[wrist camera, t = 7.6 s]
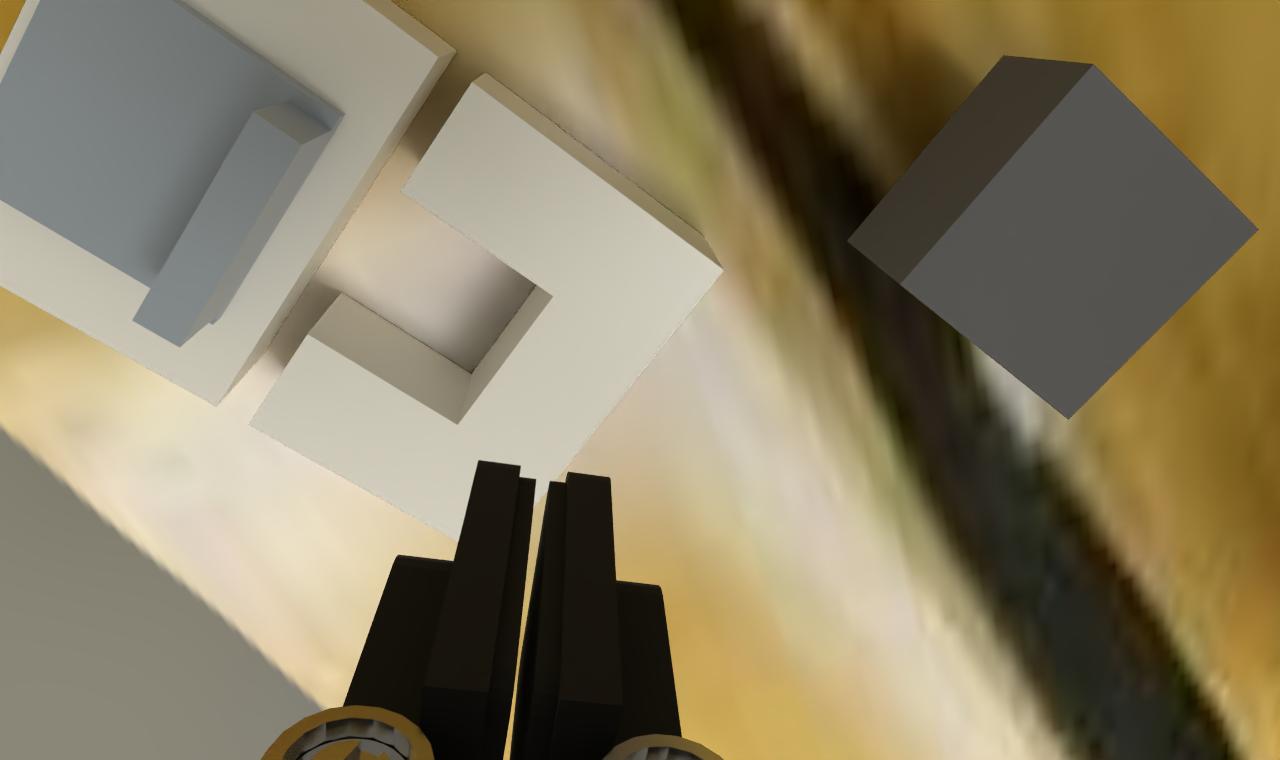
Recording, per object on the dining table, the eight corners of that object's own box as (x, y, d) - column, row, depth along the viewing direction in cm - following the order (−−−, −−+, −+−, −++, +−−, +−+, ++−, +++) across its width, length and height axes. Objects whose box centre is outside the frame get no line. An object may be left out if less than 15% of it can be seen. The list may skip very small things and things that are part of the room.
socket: (704, 236, 28) (724, 270, 25) (500, 497, 32) (491, 560, 28) (186, -154, 23) (114, -186, 19) (5, 206, 26) (-87, 237, 23)
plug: (1093, 177, 29) (1258, 229, 22) (955, 327, 30) (1068, 419, 23) (958, 50, 27) (1093, 63, 20) (820, 218, 28) (899, 284, 22)
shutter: (345, 114, 22) (310, 130, 19) (220, 317, 24) (172, 359, 21) (86, -66, 20) (4, -80, 17) (-29, 170, 22) (-120, 194, 19)
